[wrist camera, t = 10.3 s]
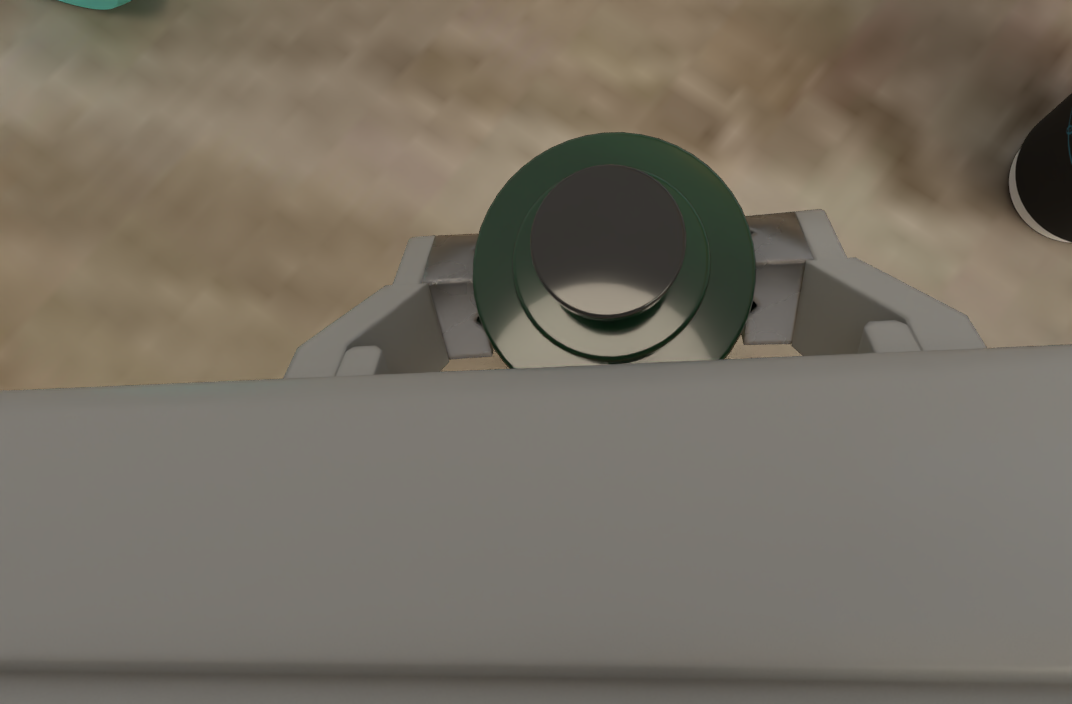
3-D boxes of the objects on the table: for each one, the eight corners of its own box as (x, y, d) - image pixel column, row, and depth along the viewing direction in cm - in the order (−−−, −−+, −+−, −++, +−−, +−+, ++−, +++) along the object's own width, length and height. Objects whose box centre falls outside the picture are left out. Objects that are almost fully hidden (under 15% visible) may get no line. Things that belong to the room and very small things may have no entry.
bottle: (495, 350, 18) (372, 318, 9) (577, 193, 18) (532, 8, 9) (654, 434, 18) (686, 486, 9) (740, 272, 18) (860, 155, 9)
